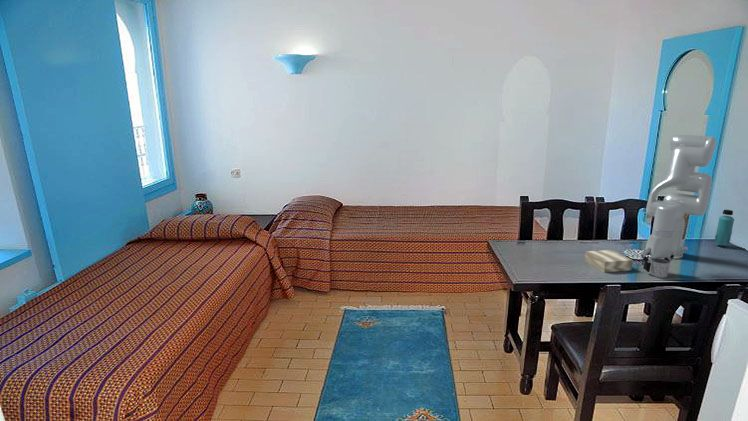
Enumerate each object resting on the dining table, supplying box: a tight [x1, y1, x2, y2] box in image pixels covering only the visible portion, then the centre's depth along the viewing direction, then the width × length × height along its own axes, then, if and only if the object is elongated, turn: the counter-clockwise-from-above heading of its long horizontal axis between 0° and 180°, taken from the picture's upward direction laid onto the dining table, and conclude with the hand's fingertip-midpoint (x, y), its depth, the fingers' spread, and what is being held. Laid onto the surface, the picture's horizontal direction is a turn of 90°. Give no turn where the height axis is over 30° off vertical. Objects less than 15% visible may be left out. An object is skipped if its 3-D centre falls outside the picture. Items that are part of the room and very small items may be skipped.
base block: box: [584, 249, 633, 273], centre depth 204 cm, size 14×14×5 cm
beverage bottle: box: [714, 209, 735, 247], centre depth 228 cm, size 6×7×20 cm
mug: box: [649, 258, 671, 279], centre depth 195 cm, size 10×7×7 cm
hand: (655, 269), depth 195 cm, fingers open, 9 cm apart
